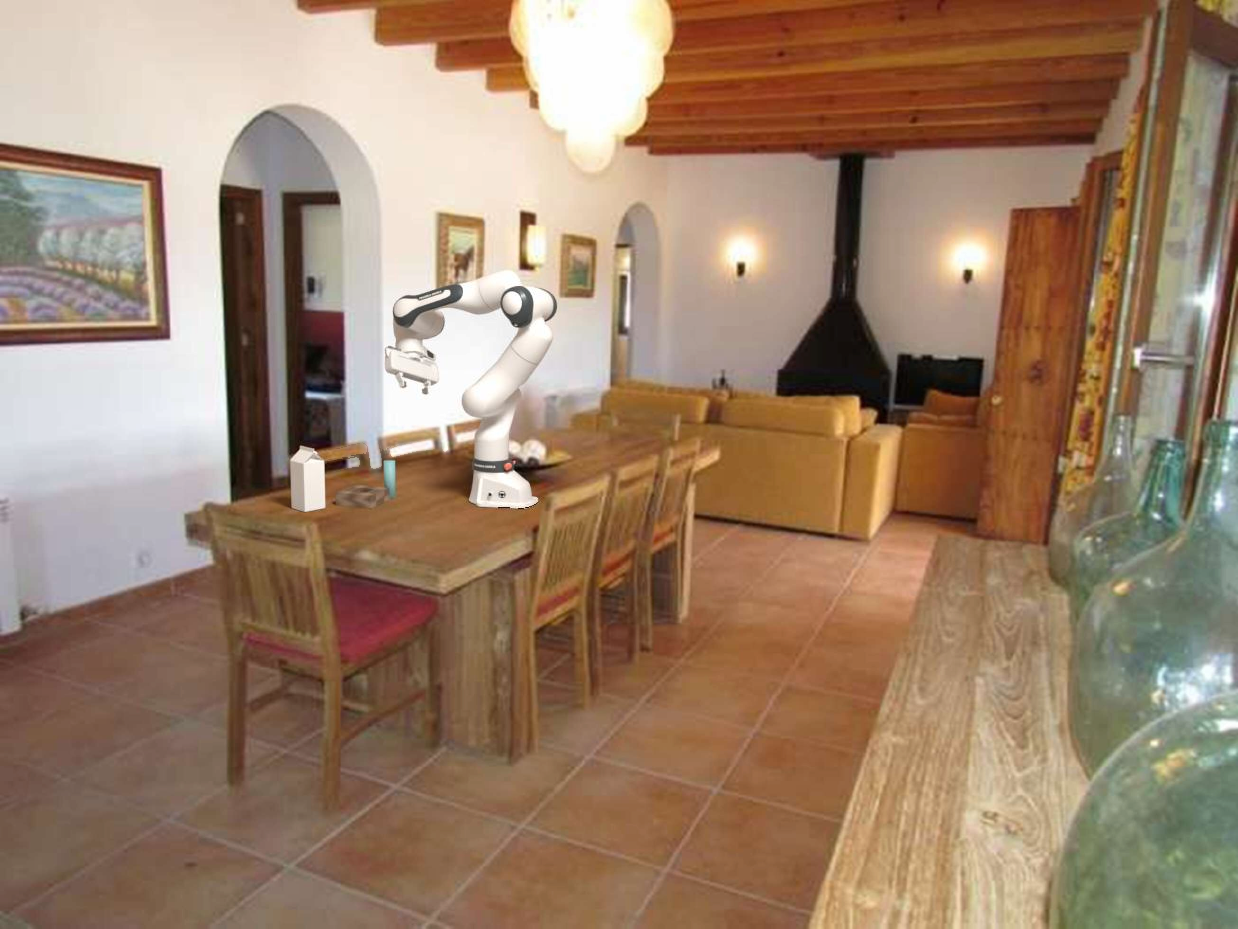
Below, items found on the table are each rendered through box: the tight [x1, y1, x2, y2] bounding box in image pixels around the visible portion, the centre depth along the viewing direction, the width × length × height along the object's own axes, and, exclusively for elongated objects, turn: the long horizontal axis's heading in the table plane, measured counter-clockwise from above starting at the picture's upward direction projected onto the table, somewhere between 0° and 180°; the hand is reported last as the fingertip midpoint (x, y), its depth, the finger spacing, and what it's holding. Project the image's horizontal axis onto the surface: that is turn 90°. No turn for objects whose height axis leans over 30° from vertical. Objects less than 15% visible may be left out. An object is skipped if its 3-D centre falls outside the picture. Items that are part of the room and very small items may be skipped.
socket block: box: [335, 484, 390, 509], centre depth 276 cm, size 12×12×4 cm
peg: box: [383, 459, 396, 499], centre depth 284 cm, size 4×4×12 cm
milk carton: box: [289, 445, 326, 513], centre depth 264 cm, size 7×7×19 cm
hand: (414, 390), depth 283 cm, fingers open, 8 cm apart
